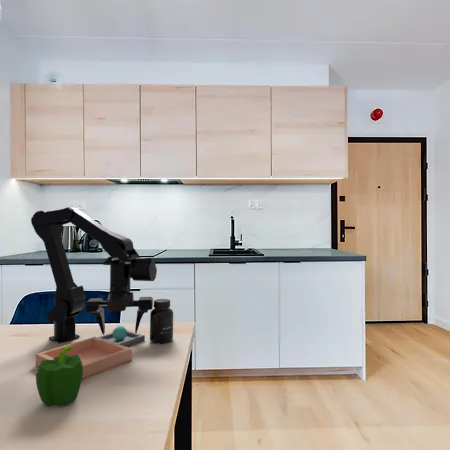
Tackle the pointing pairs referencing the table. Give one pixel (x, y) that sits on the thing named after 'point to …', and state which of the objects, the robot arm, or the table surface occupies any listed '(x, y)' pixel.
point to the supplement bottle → (161, 322)
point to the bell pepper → (59, 379)
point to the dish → (92, 355)
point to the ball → (119, 333)
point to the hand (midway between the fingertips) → (119, 333)
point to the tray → (128, 340)
